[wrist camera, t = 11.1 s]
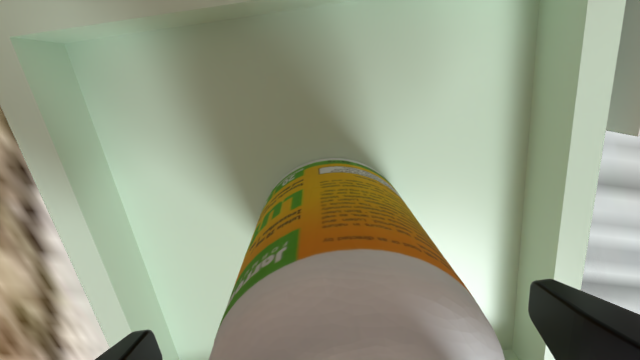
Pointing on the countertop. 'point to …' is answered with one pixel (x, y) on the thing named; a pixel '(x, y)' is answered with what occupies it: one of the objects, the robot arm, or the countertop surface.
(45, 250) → the countertop surface
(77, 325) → the countertop surface
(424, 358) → the supplement bottle
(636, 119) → the bay
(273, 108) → the tray
